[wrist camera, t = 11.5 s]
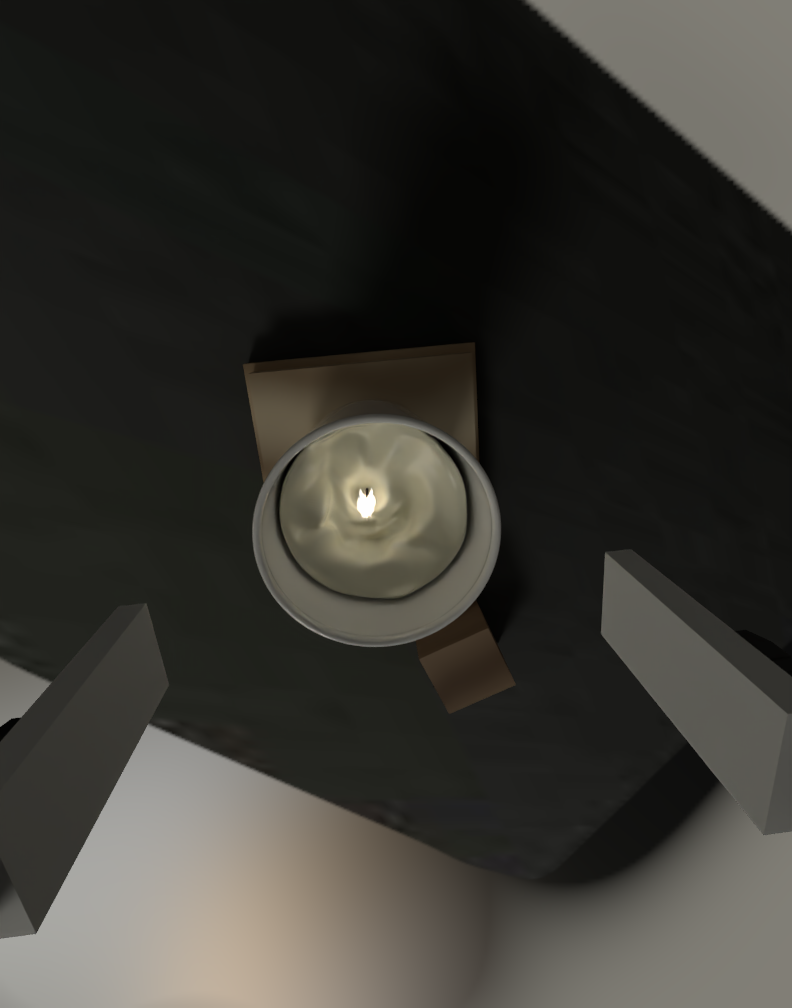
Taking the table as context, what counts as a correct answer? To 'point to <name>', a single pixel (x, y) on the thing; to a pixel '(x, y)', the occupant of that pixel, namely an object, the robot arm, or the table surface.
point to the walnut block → (464, 661)
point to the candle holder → (376, 527)
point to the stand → (362, 392)
